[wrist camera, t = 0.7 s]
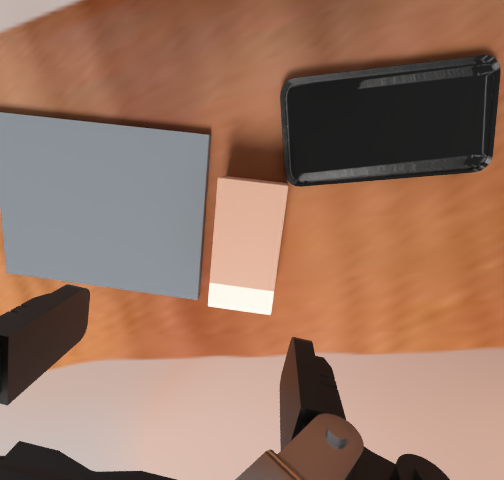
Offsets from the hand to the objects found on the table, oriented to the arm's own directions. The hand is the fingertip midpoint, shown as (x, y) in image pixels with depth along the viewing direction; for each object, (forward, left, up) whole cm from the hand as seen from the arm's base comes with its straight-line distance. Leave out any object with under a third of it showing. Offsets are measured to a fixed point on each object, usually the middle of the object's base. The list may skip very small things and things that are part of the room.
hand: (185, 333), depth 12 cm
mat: (+12, -1, -15) cm, 19 cm away
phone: (-10, -10, -16) cm, 21 cm away
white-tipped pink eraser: (-1, 0, -15) cm, 15 cm away
